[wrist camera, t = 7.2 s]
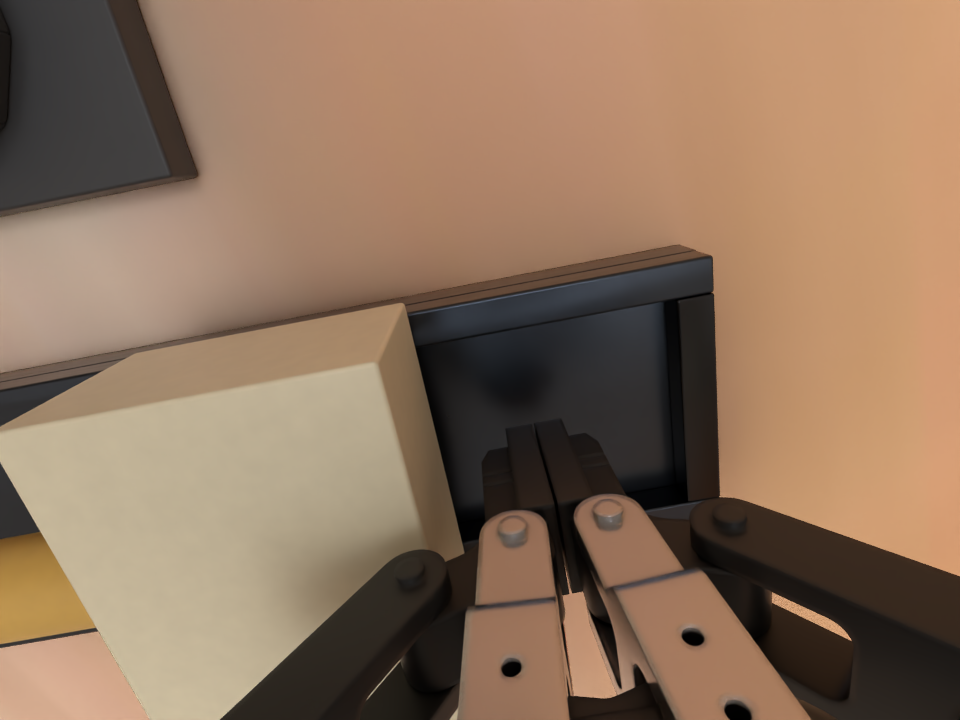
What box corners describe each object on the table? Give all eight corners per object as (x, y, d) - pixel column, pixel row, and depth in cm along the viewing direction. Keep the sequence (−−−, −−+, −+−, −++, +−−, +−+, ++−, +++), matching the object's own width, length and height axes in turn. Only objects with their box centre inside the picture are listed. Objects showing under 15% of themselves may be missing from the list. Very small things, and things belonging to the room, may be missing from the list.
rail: (-121, 626, 19) (-192, 682, 17) (-276, 425, 16) (-384, 462, 14) (691, 484, 18) (721, 524, 16) (679, 244, 15) (714, 254, 13)
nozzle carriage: (104, 621, 18) (-55, 818, 12) (-37, 375, 14) (-333, 494, 9) (472, 557, 17) (477, 732, 12) (409, 290, 14) (377, 361, 9)
